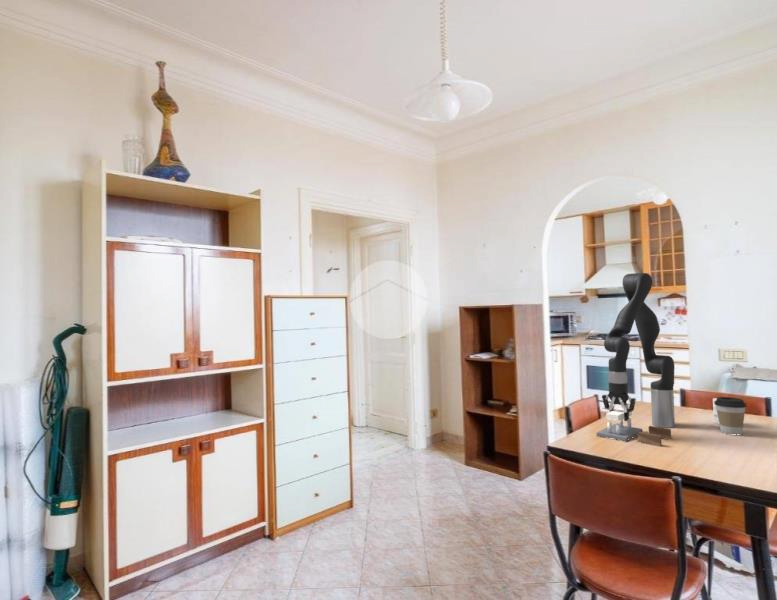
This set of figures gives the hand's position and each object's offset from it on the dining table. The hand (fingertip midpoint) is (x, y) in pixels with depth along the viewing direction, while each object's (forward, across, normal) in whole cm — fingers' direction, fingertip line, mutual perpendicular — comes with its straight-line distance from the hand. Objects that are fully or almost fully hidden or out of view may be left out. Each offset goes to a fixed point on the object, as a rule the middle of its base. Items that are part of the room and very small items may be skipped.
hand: (619, 419), depth 195 cm
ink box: (+7, -29, -49) cm, 57 cm away
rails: (+6, -14, 0) cm, 15 cm away
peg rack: (+6, 0, 0) cm, 6 cm away
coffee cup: (+7, -34, -34) cm, 49 cm away
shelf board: (-1, 0, 0) cm, 1 cm away
